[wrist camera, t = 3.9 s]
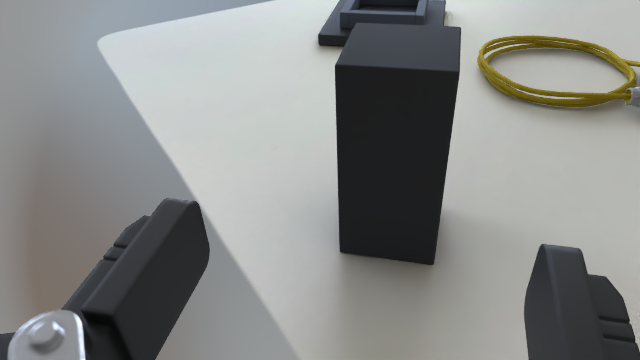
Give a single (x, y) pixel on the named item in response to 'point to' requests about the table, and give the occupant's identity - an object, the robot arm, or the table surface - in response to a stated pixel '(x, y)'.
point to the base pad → (379, 16)
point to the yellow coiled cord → (626, 91)
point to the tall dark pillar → (394, 137)
